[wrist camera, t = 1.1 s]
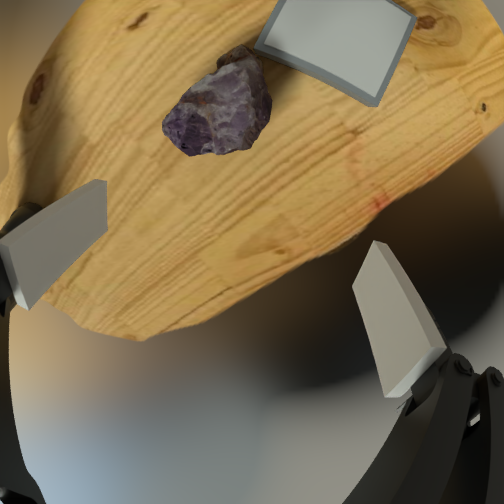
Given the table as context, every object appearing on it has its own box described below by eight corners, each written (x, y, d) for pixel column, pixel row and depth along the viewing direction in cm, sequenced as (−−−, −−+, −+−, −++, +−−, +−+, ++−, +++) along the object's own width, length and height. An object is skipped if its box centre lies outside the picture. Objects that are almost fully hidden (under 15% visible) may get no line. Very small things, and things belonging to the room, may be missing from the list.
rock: (175, 110, 29) (232, 164, 32) (135, 121, 22) (207, 190, 25) (241, 40, 23) (305, 100, 25) (214, 26, 16) (302, 104, 19)
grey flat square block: (255, 53, 24) (253, 47, 21) (301, -30, 17) (303, -42, 14) (368, 106, 25) (378, 107, 23) (406, 23, 19) (418, 17, 16)
